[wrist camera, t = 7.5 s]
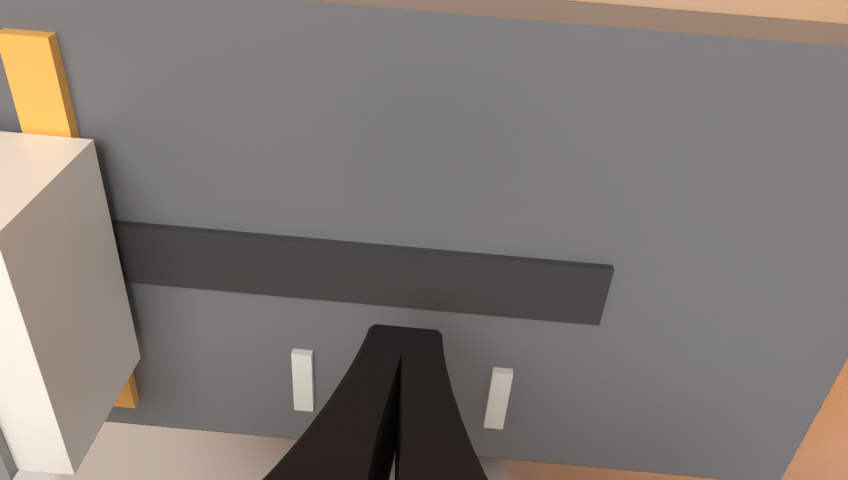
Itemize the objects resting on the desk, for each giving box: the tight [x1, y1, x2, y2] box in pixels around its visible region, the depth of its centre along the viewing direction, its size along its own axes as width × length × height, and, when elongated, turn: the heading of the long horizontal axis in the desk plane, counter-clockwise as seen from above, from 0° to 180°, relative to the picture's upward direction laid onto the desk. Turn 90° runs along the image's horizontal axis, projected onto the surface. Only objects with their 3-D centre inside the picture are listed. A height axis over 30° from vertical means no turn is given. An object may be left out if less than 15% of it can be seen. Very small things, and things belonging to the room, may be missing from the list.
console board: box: [0, 0, 848, 480], centre depth 17 cm, size 12×28×2 cm, turn 86°
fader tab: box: [0, 131, 141, 480], centre depth 14 cm, size 6×3×4 cm, turn 176°
